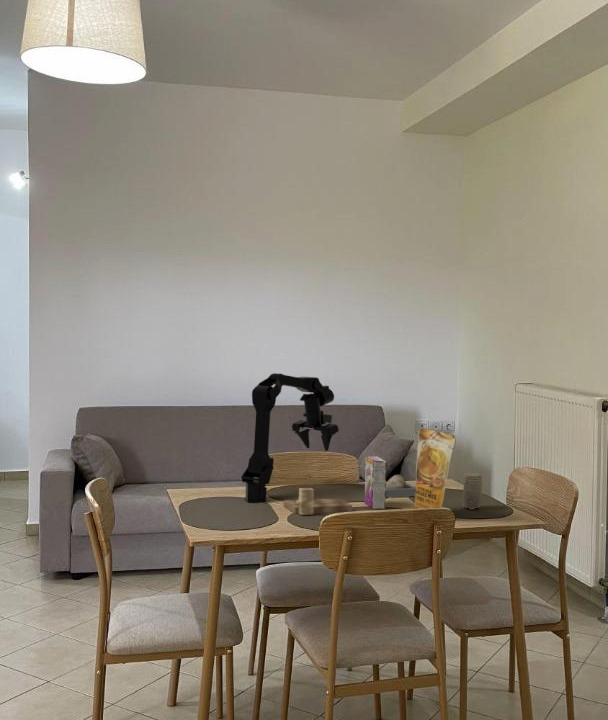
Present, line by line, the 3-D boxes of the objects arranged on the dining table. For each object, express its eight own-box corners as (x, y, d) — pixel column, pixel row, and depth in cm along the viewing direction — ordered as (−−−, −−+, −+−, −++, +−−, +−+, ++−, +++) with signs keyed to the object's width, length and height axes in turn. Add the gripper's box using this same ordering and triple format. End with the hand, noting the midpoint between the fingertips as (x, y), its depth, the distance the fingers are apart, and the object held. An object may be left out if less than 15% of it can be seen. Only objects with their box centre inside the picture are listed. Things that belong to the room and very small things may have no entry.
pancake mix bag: (423, 509, 283) (426, 427, 283) (455, 521, 266) (458, 433, 265) (406, 510, 281) (408, 427, 280) (437, 522, 263) (440, 433, 263)
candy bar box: (363, 502, 292) (364, 456, 291) (377, 502, 292) (378, 456, 292) (371, 509, 281) (372, 460, 280) (385, 509, 281) (387, 460, 281)
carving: (460, 509, 285) (461, 474, 285) (464, 505, 292) (465, 471, 292) (479, 511, 283) (480, 476, 282) (482, 507, 290) (483, 473, 289)
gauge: (301, 514, 267) (302, 490, 267) (292, 509, 275) (293, 485, 275) (313, 514, 268) (313, 489, 268) (304, 509, 276) (305, 484, 276)
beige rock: (373, 494, 311) (382, 469, 314) (395, 505, 313) (403, 480, 317) (383, 492, 304) (392, 467, 308) (405, 503, 307) (413, 478, 310)
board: (294, 513, 270) (294, 507, 270) (283, 506, 281) (283, 500, 281) (352, 511, 276) (352, 505, 276) (339, 504, 288) (339, 498, 288)
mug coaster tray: (381, 498, 302) (382, 489, 302) (366, 491, 315) (366, 483, 315) (419, 496, 306) (419, 488, 306) (402, 490, 320) (403, 482, 320)
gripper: (345, 405, 312) (349, 445, 315) (307, 402, 324) (312, 440, 328) (326, 414, 304) (331, 454, 307) (288, 409, 316) (293, 449, 319)
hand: (317, 449), depth 316 cm, fingers open, 9 cm apart
